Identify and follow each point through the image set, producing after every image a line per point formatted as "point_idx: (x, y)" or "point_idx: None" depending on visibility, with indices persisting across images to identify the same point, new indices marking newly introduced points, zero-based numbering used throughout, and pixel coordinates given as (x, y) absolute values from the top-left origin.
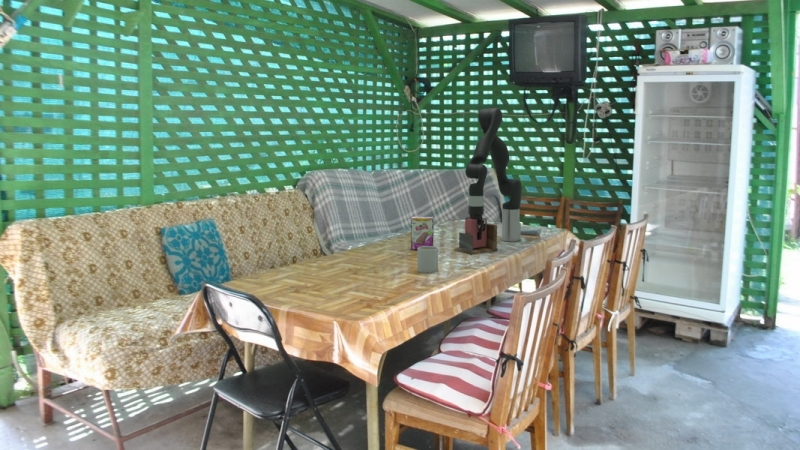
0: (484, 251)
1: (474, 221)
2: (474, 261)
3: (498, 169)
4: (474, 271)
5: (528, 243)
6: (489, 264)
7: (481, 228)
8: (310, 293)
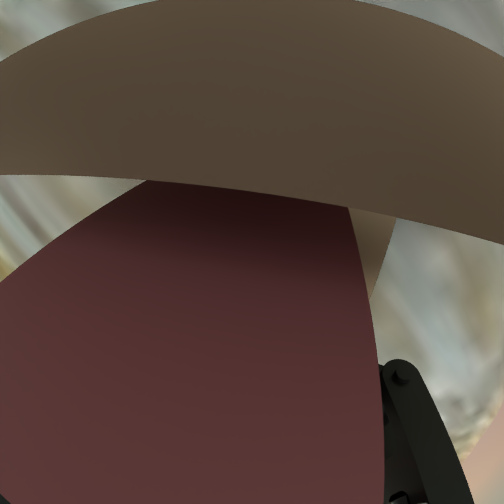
0: (386, 243)
1: None
2: (435, 404)
3: None
4: (469, 445)
5: None
6: (495, 395)
7: (393, 446)
8: None
